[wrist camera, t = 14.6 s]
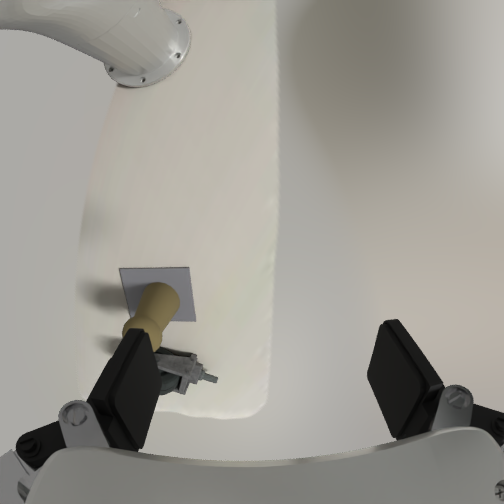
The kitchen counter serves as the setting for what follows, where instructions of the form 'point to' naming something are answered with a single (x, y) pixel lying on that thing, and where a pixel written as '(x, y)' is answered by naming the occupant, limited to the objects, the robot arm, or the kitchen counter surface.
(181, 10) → the kitchen counter surface
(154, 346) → the cork
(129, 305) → the mat
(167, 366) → the caster wheel
